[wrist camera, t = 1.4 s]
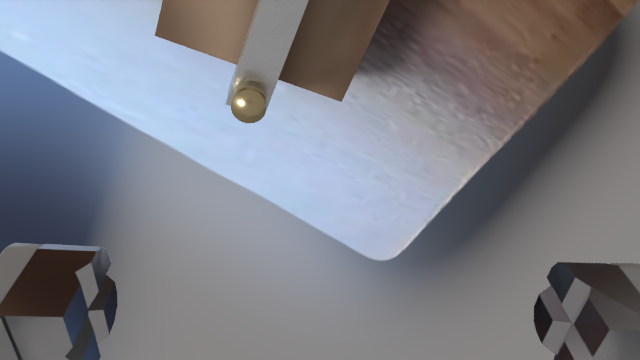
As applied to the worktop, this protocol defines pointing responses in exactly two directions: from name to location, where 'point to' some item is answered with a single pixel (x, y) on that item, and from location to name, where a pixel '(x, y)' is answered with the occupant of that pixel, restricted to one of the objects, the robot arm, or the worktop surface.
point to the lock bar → (263, 57)
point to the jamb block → (307, 47)
